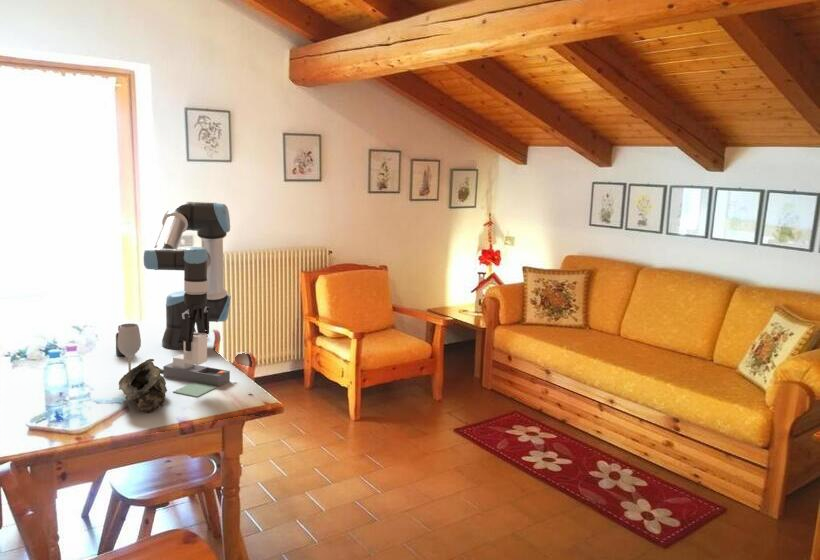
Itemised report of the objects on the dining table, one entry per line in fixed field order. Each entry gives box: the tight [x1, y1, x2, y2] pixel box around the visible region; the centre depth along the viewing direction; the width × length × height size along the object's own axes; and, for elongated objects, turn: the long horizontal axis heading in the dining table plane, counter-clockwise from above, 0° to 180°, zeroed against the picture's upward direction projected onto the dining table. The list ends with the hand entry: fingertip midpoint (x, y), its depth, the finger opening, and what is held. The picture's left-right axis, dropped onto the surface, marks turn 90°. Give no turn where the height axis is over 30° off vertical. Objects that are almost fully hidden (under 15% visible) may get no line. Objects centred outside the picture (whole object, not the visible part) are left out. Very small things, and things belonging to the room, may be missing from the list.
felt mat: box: [172, 382, 218, 398], centre depth 227 cm, size 11×10×1 cm
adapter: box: [172, 353, 193, 370], centre depth 239 cm, size 5×5×5 cm
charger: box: [183, 331, 208, 366], centre depth 224 cm, size 5×6×10 cm
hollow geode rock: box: [118, 358, 168, 414], centre depth 212 cm, size 28×13×15 cm
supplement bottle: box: [115, 325, 127, 358], centre depth 261 cm, size 7×7×12 cm
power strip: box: [160, 362, 231, 388], centre depth 239 cm, size 31×7×4 cm, turn 71°
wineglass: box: [117, 322, 142, 372], centre depth 229 cm, size 8×8×21 cm
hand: (195, 357), depth 225 cm, fingers closed on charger, 5 cm apart
